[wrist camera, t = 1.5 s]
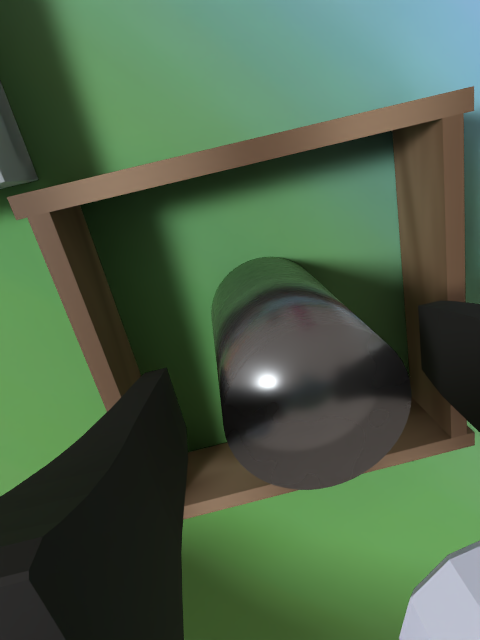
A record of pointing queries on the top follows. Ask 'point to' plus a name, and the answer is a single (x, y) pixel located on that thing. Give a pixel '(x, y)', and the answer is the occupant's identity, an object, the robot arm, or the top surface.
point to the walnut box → (409, 156)
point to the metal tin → (302, 379)
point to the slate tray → (12, 149)
